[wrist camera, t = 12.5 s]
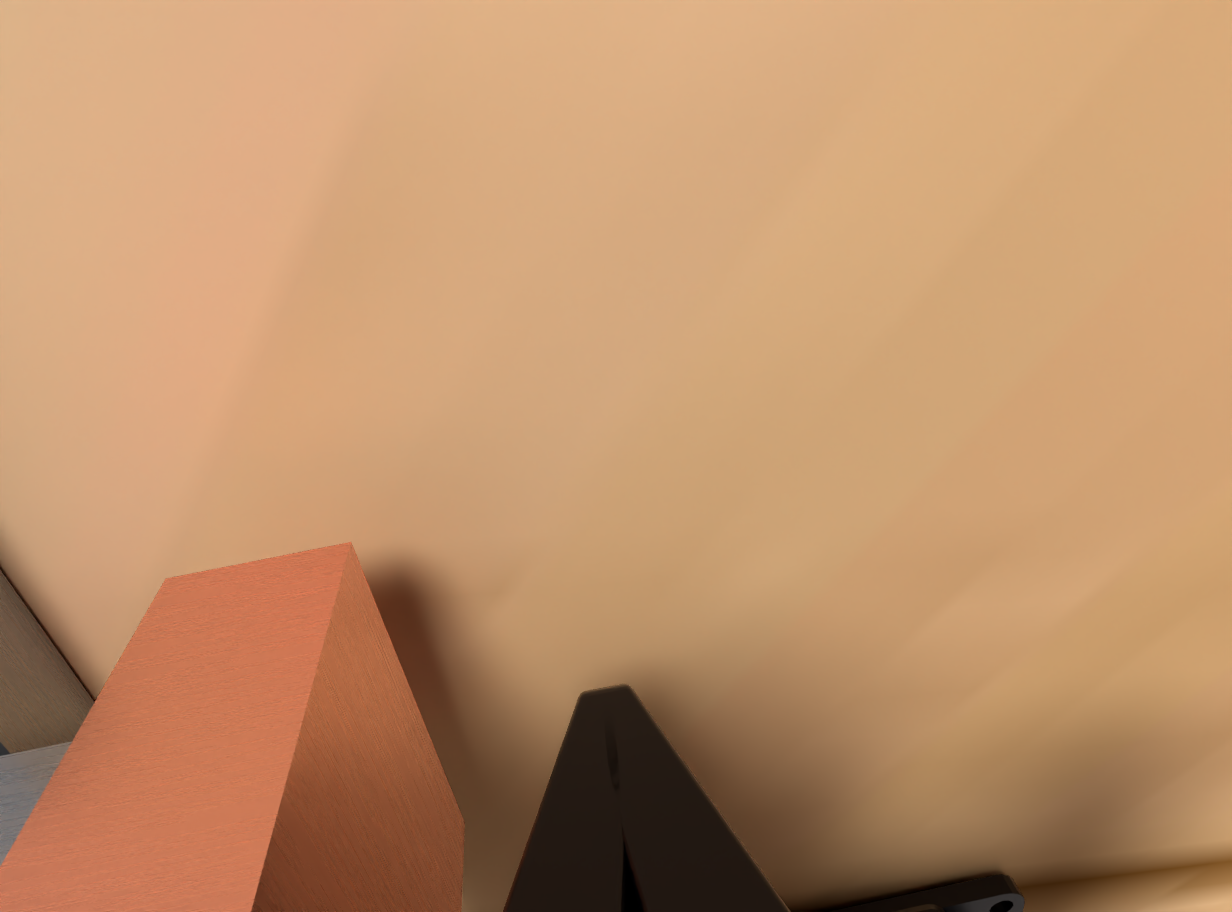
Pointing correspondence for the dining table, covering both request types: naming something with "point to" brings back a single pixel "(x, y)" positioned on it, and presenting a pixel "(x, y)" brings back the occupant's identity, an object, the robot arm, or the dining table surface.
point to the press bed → (34, 682)
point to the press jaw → (241, 762)
